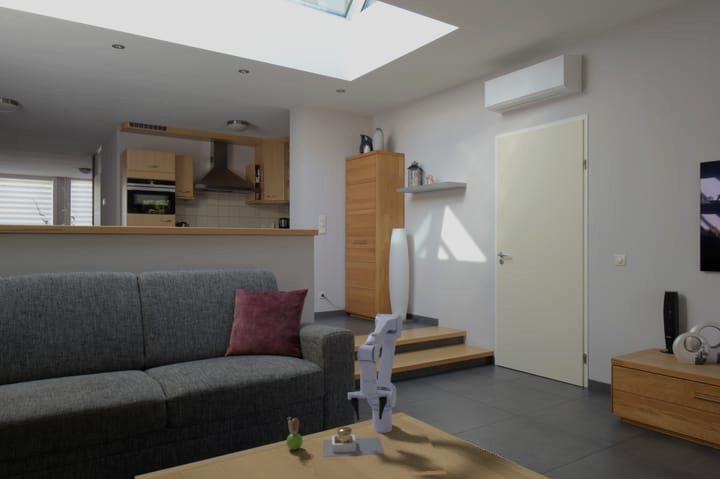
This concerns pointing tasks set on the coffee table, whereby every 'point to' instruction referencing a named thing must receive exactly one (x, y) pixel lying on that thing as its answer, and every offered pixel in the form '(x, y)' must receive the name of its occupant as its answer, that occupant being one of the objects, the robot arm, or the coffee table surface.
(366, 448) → the fitting board
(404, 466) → the coffee table surface
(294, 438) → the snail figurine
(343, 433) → the brass door knob
